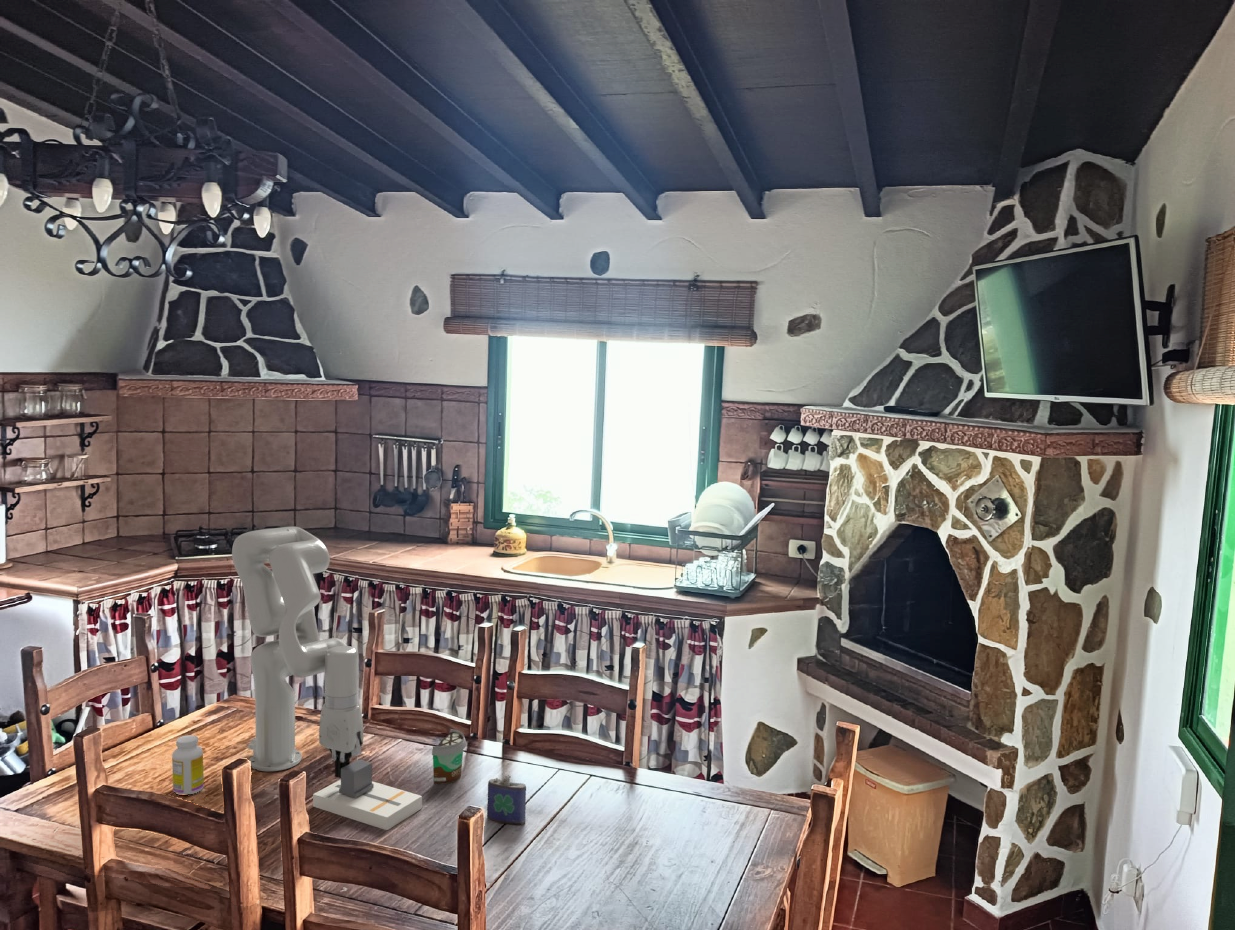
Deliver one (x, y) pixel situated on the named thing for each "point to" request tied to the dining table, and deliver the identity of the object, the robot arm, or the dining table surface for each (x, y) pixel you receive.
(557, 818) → the dining table surface
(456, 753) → the food container
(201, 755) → the supplement bottle
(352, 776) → the fader tab
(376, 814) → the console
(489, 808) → the flask
